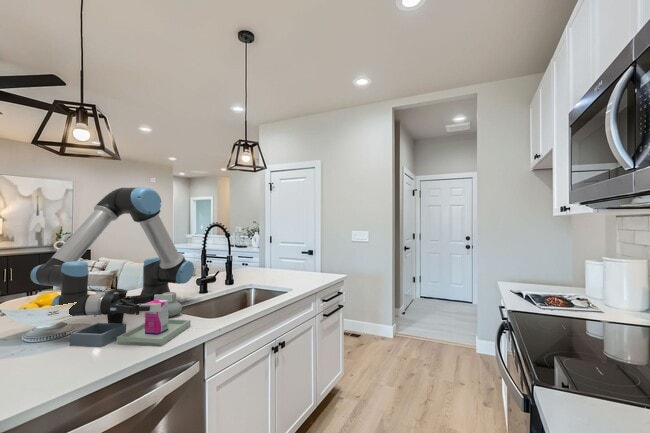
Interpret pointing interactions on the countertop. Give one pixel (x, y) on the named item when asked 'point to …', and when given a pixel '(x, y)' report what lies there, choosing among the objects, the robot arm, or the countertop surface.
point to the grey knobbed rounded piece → (173, 305)
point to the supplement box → (157, 319)
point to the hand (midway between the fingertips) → (166, 302)
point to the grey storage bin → (97, 334)
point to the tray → (140, 338)
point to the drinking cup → (122, 293)
